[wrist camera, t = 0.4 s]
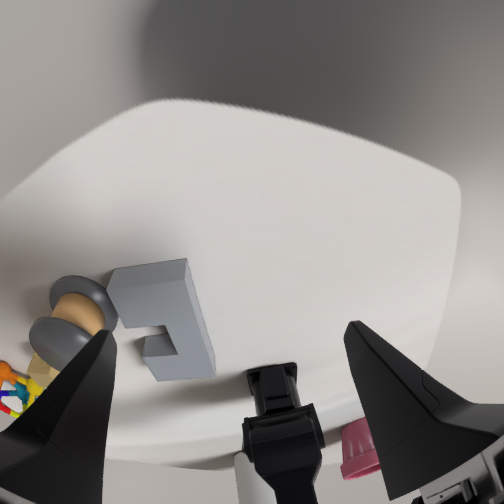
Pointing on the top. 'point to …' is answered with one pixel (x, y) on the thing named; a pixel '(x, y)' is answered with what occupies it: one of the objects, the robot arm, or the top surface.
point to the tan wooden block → (41, 371)
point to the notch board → (165, 318)
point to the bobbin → (72, 320)
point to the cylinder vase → (251, 483)
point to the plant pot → (358, 451)
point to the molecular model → (18, 389)
